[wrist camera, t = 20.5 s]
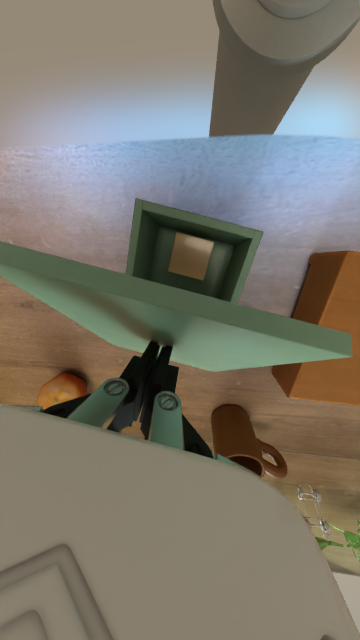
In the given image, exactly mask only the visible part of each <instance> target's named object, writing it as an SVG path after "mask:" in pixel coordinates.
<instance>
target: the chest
mask: <svg viewBox="0 0 360 640" xmlns="http://www.w3.org/2000/svg"><path fill="white" fill-rule="evenodd" d="M176 232H179V233H183V234H186V235H190V236H194V237H198V238H202V239H205V240H209V241H213V242H214V245H213V249H212V252H211V256H210V259H209V262H208V266H207V269H206V273H205V276H204V280H203V281H202V280H199V279H195V278H191V277H187V276H183V275H180V274H176V273H172V272H168V269H169V264H170V260H171V255H172V250H173V246H174V241H175V237H176ZM262 235H263V231H259V230H255V229H251V228H247V227H244V226H240V225H236V224H232V223H228V222H225V221H221V220H217V219H213V218H209V217H206V216H202V215H198V214H194V213H190V212H187V211H183V210H179V209H175V208H171V207H168V206H164V205H160V204H156V203H152V202H149V201H145V200H141V199H137V198H136V199H135V207H134V214H133V222H132V230H131V237H130V245H129V252H128V260H127V268H126V275H129V276H133V277H137V278H141V279H145V280H148V281H152V282H156V283H160V284H164V285H167V286H171V287H175V288H179V289H182V290H186V291H190V292H194V293H198V294H201V295H205V296H209V297H213V298H216V299H220V300H224V301H228V302H232V303H235V304H237V301H238V299H239V296H240V293H241V291H242V288H243V285H244V283H245V280H246V277H247V275H248V272H249V269H250V267H251V264H252V261H253V259H254V256H255V253H256V251H257V248H258V245H259V243H260V240H261V237H262Z"/></svg>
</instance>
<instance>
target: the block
mask: <svg viewBox="0 0 360 640" xmlns="http://www.w3.org/2000/svg"><path fill="white" fill-rule="evenodd" d="M213 245H214V242H213V241H209V240H205V239H202V238H198V237H194V236H190V235H186V234H183V233H179V232H176V237H175V241H174V246H173V250H172V255H171V260H170V264H169V269H168V272H172V273H176V274H180V275H183V276H187V277H191V278H195V279H199V280H202V281H203V280H204V276H205V273H206V269H207V266H208V262H209V259H210V256H211V252H212V249H213Z"/></svg>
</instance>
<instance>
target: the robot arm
mask: <svg viewBox="0 0 360 640" xmlns="http://www.w3.org/2000/svg"><path fill="white" fill-rule="evenodd" d="M331 1H332V0H259V2H260V3H261V4H262V5H263V6H264V8H266V9H267V10H268V11H270V12H271V13H273V14H274V15H277V16H280V17H283V18H300V17H304V16H308V15H310V14H312V13H314V12H316V11H318V10H320V9H322V8H323V7H324V6H326V5H327V4H328V3H330V2H331ZM159 349H160V346H159V345H158V343H156V342H152V341H150V343H149V344H148V346H147V348H146V350H145V351H144V353H143V355H142V357H138V356H133V358H132V359H131V361H130V362H129V364H128V365H127V367H126V368H125V370H124V371H123V373H122V374H121V376H120V377H119V378H111V379H108V380H106V381H105V382H104V383H103V384H102V385H100V386H99V387H98V388H97V389H96V390H95V391H94V392H93V393H91V394H88V395H85V396H81V397H78V398H75V399H72V400H68V401H65V402H62V403H59V404H56V405H53V406H50V407H48V408H46V409H43V406H24V405H6V404H1V403H0V640H360V634H359V632H358V630H357V627H356V625H355V623H354V621H353V618H352V616H351V614H350V611H349V609H348V607H347V605H346V603H345V600H344V598H343V596H342V593H341V591H340V589H339V587H338V584H337V582H336V580H335V578H334V576H333V574H332V571H331V569H330V567H329V565H328V563H327V561H326V559H325V556H324V554H323V552H322V550H321V548H320V546H319V544H318V543H317V541H316V539H315V537H314V535H313V533H312V531H311V529H310V527H309V526H308V524H307V522H306V521H305V519H304V517H303V516H302V515H301V513H300V512H299V510H298V509H297V508H296V507H295V505H294V504H293V503H292V502H291V501H290V500H289V499H288V498H287V497H286V496H285V495H284V494H282V493H281V492H280V491H279V490H278V489H276V488H275V487H274V486H272V485H271V484H269V483H268V482H266V481H265V480H264V479H262V478H261V477H260V476H259V475H257V474H256V473H254V472H252V471H250V470H249V469H247V468H245V467H243V466H241V465H239V464H237V463H235V462H233V461H231V460H230V459H228V458H226V457H224V456H222V455H220V454H218V453H217V455H215V454H213V453H212V452H211V450H210V448H209V447H208V445H207V444H206V443H205V442H204V440H203V439H202V438H201V437H200V435H199V434H198V433H197V432H196V430H195V429H194V428H193V427H192V425H191V424H190V423H189V422H188V420H187V419H186V418H185V417H184V415H183V414H182V410H181V401H180V399H179V397H178V396H177V395H176V394H175V388H176V382H177V376H178V370H179V367H175V366H172V365H168V364H169V360H170V356H171V352H172V349H173V347H171V346H167V345H166V346H165V347H163V346H162V348H161V351H160V353H159ZM158 353H159V356H158ZM142 406H143V408H142ZM141 408H142V412H141V417H140V421H139V422H141V423H142V424H141V428H140V429H141V431H142V433H143V434H144V436H145V438H144V439H140V438H137V437H133V436H129V435H125V434H122V433H121V432H122V429H123V428H126V427H128V426H130V427H131V425H132V423H133V421H137V419H138V416H139V414H140V411H141Z"/></svg>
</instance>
